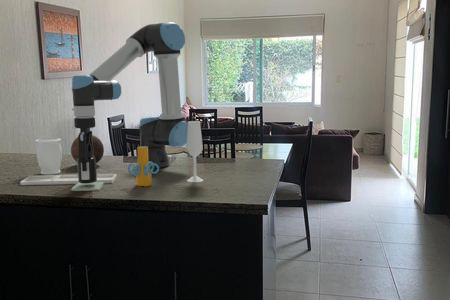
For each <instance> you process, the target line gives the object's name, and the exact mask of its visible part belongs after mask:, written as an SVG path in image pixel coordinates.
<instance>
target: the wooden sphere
mask: <svg viewBox="0 0 450 300" xmlns="http://www.w3.org/2000/svg"><path fill="white" fill-rule="evenodd" d="M92 141H93V154H94V155H93V156H95V159H96V164H98V163H99V162H100V161H101V160H102V158H103V156H104V152H105V147H104V145H103V142H102V141H101V139H100V138H99V137H97V136H95V135H94V134H92ZM70 153H71V157H72V158H73V160H74V161H75V162H76V163H77V160H78V159H79V140H78V136H77V137H76V138H75V139H74V140H73V142H72V144H71V147H70Z"/></svg>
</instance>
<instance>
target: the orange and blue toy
mask: <svg viewBox="0 0 450 300" xmlns="http://www.w3.org/2000/svg"><path fill="white" fill-rule="evenodd" d="M136 149H137V161H138V165H137V164H136V163H133V162H132V163H129V165H128V166H127V172H128V173H129V174H131V175H133V176H135V185H136V186H137V187H141V186H144V187H149V186H152V182H153V181H152V174H153V175H156V174H157V173H159V171H160V168H159V166H158V165H157V164H155V163H153V162H148V147H147V146H140V145H139V146H137V148H136ZM150 163H151V164H150ZM149 164H150V165H149ZM154 165H155V166H156V167H157V168H156V170H155V171H154V169H155V168H154ZM132 166H133V167H132ZM151 166H152V168H150V167H151ZM131 167H132V169H130V168H131Z"/></svg>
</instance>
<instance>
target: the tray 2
mask: <svg viewBox="0 0 450 300" xmlns="http://www.w3.org/2000/svg"><path fill="white" fill-rule="evenodd" d="M117 177H118V176H117V173H97V181H96V182H104V184H113V183H114V182H115V180H116V179H117Z"/></svg>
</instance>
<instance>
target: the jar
mask: <svg viewBox="0 0 450 300" xmlns="http://www.w3.org/2000/svg"><path fill="white" fill-rule="evenodd" d="M61 142H62V139H61V138H58V137H48V138H47V137H45V138H39V139H35V143H36V151H35V152H36V158H37V161H38V166H39V168H40V175H58V174H60V173H61V169H60V168H61V165H62V158H63V149H62V148H63V147H62V145H61Z"/></svg>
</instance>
